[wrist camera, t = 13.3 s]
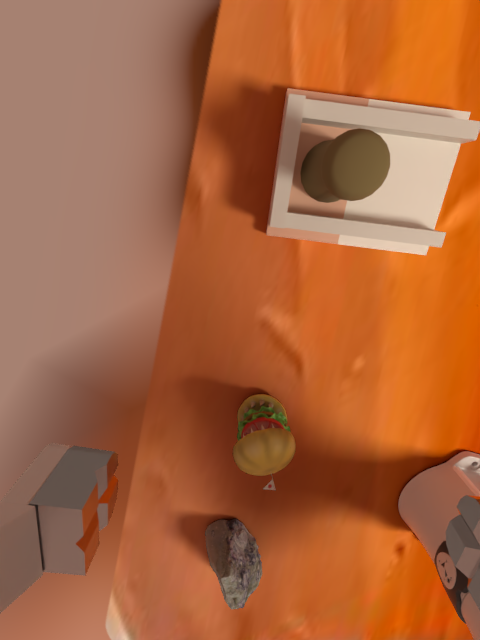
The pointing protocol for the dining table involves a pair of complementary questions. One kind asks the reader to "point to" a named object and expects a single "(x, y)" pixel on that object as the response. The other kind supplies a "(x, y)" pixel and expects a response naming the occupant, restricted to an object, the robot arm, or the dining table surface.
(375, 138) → the cork
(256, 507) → the dining table surface
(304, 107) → the white tray
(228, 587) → the mineral rock
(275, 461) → the hamburger
